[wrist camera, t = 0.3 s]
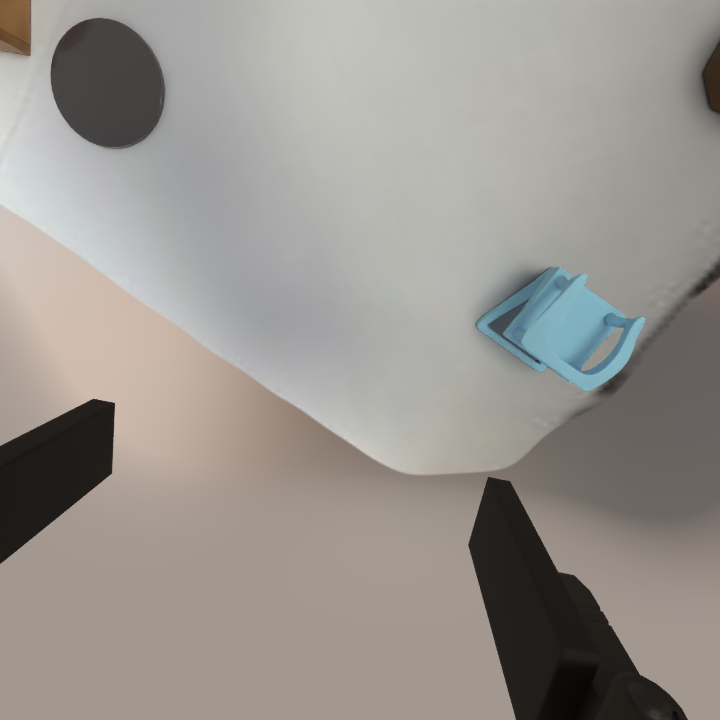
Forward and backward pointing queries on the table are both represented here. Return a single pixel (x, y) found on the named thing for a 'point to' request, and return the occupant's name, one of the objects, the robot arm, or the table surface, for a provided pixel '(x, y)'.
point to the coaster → (107, 83)
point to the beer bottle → (713, 80)
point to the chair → (564, 328)
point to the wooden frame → (15, 26)
